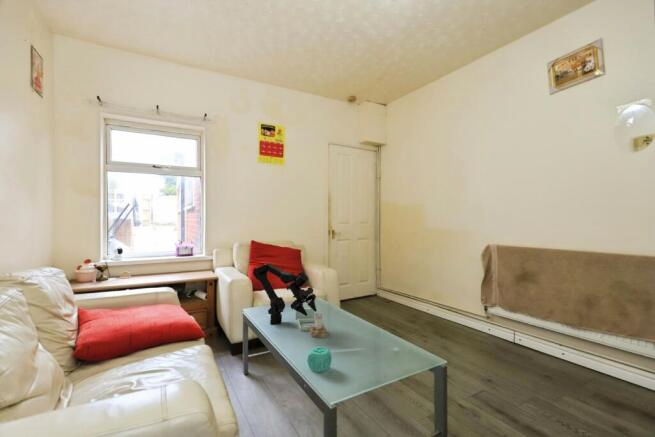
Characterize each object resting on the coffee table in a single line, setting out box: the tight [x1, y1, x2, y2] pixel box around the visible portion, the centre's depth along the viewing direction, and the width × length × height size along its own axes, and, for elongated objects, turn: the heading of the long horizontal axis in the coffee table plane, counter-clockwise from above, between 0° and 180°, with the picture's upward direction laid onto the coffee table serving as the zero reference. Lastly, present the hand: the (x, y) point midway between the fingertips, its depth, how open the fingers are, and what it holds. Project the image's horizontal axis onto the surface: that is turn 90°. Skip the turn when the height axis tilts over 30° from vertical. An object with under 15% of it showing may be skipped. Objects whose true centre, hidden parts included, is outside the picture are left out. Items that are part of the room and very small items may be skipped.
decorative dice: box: [306, 346, 333, 373], centre depth 130 cm, size 8×8×8 cm
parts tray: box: [296, 317, 315, 332], centre depth 177 cm, size 14×14×3 cm
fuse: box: [314, 312, 323, 331], centre depth 165 cm, size 4×4×11 cm
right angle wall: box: [295, 307, 315, 320], centre depth 197 cm, size 12×12×8 cm
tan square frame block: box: [309, 324, 328, 338], centre depth 165 cm, size 8×8×4 cm
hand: (311, 313), depth 168 cm, fingers open, 9 cm apart
